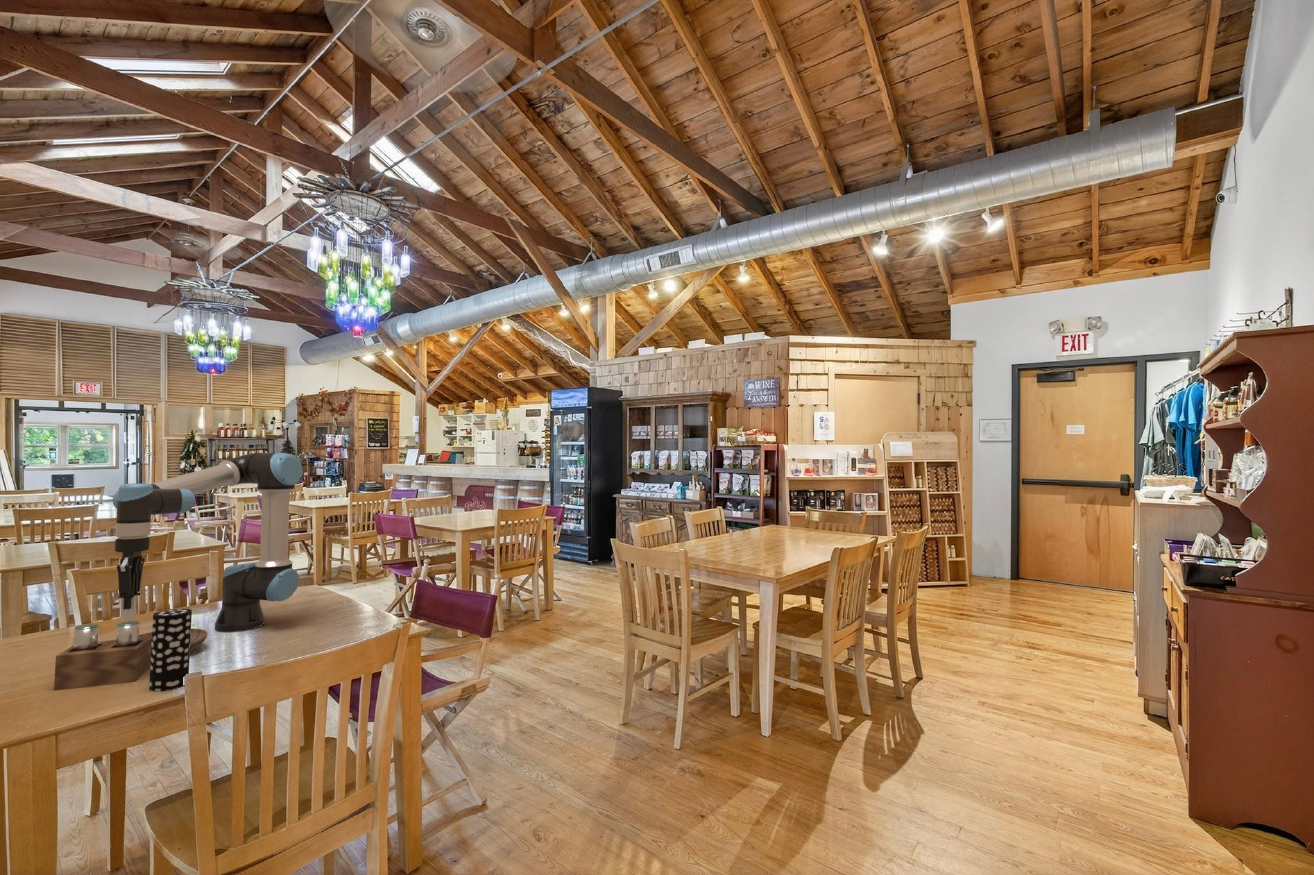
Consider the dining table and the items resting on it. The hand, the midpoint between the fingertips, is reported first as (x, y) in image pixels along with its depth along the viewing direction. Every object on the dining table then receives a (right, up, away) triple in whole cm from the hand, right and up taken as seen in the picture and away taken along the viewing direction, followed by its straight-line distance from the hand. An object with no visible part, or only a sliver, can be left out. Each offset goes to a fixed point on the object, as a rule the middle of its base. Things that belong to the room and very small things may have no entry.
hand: (128, 619), depth 169 cm
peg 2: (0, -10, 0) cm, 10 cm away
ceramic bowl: (-6, -17, +19) cm, 26 cm away
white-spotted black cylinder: (+17, -16, -7) cm, 25 cm away
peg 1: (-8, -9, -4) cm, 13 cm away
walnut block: (-4, -16, -2) cm, 17 cm away
